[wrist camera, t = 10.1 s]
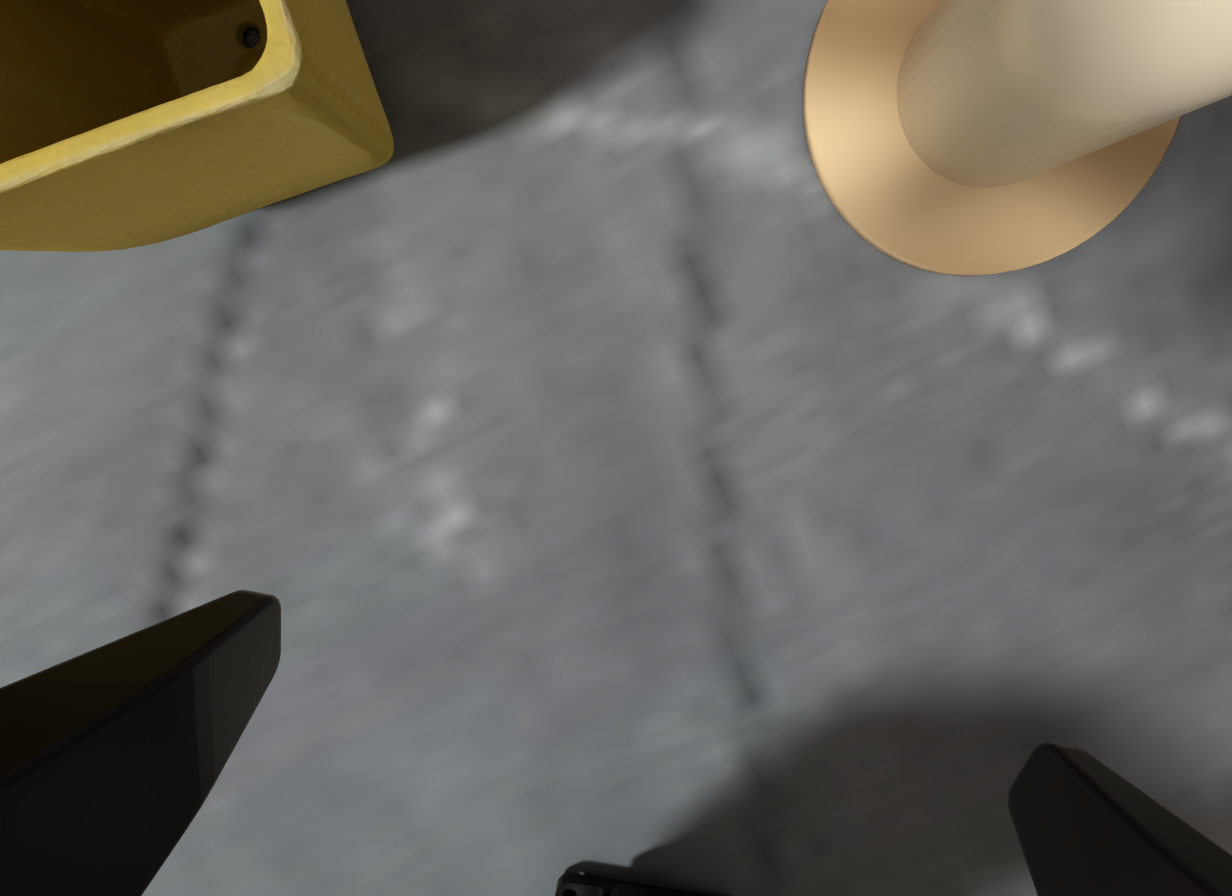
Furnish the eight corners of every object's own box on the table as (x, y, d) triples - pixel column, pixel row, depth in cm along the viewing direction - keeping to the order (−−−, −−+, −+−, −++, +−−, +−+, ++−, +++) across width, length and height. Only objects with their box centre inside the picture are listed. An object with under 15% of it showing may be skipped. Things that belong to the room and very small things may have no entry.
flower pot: (73, -15, 18) (-489, -362, 9) (359, -127, 17) (58, -627, 8) (198, 292, 19) (-179, 256, 10) (468, 200, 18) (310, 77, 10)
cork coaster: (1111, 300, 18) (1127, 299, 18) (770, 247, 18) (775, 244, 18) (1223, -88, 16) (1245, -103, 16) (845, -145, 17) (853, -163, 16)
